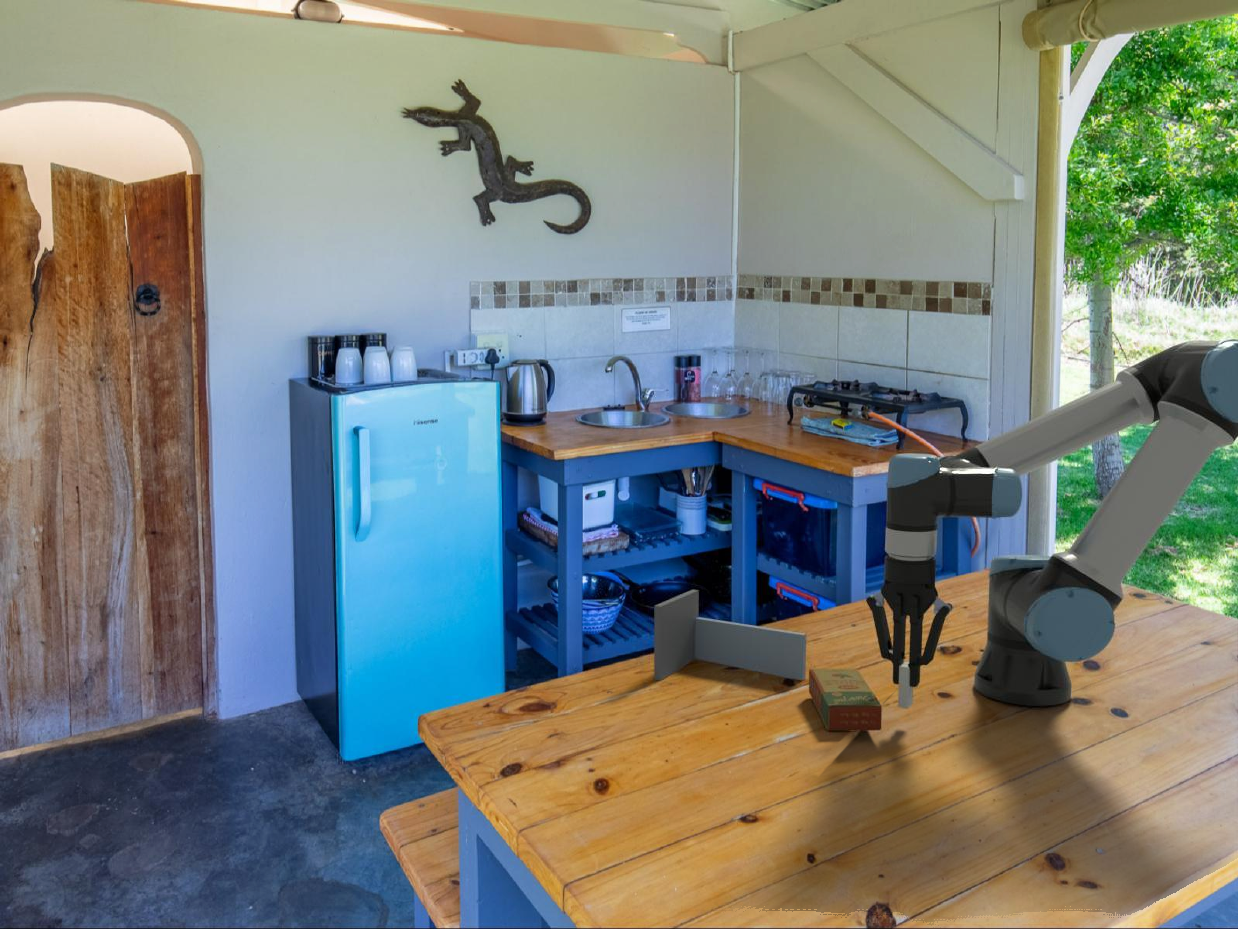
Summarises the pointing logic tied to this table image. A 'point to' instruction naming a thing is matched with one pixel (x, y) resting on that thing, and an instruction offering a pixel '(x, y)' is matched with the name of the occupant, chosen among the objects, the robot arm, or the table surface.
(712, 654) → the grey perpendicular panels
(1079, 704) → the table surface
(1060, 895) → the table surface
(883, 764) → the table surface
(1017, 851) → the table surface
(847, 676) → the carton
